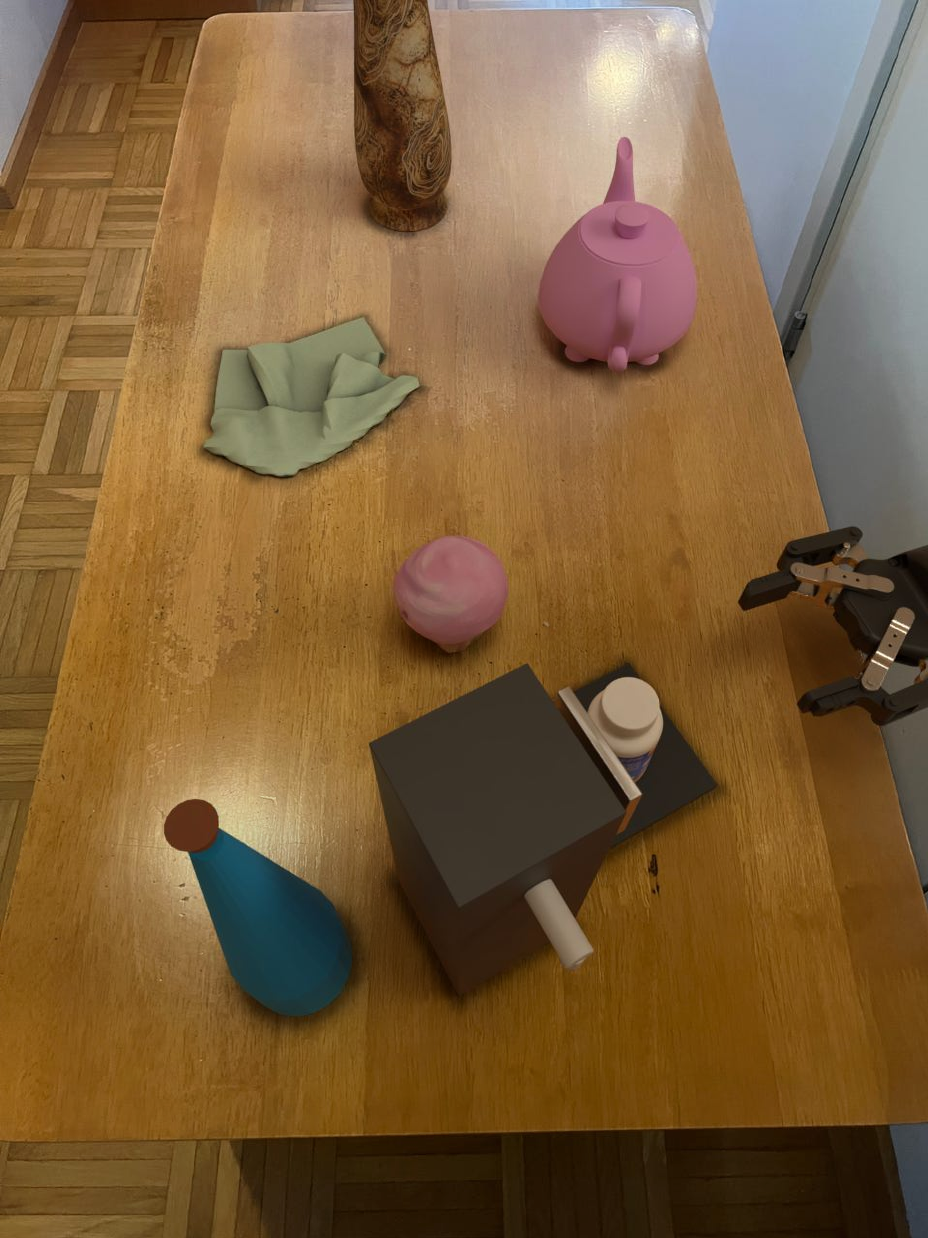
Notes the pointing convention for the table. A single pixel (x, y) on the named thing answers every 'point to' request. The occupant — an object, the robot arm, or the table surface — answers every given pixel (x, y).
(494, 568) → the cupcake
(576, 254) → the teapot
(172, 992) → the table surface
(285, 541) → the table surface
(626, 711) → the pill bottle
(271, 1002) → the bottle
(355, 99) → the vase
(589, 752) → the plate
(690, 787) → the mat
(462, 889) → the soap dispenser
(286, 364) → the cloth
